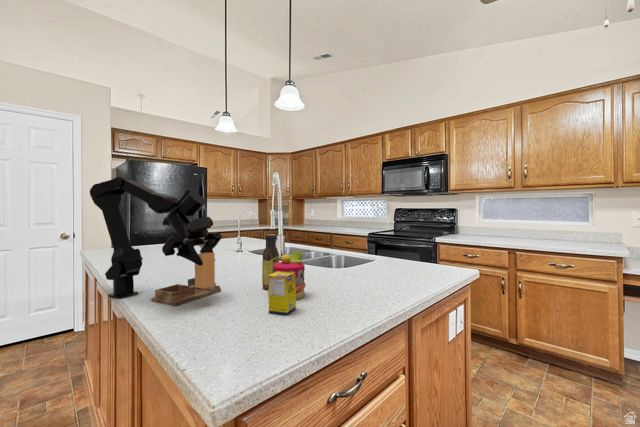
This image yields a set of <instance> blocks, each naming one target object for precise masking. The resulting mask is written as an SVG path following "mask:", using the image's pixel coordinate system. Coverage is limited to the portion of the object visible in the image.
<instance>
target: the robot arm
mask: <svg viewBox="0 0 640 427" xmlns="http://www.w3.org/2000/svg"><path fill="white" fill-rule="evenodd" d="M126 193H127V194H129V195H131V196H133V197H135V198H137V199H139V200H141V201H142V202H144V203H146V204H147V206H148V208H149V209H151V210H152V211H154V213H156V214H159V215H163V214H168V215H167V216H165V217H164V218H163V221H162V223H161V224H162V225H163V226H170V227H171V228H172V230H173V231H174V234H173V236H169V237H168V239H167V240H166V242H165V243H164V244H163V246H162V248H161V251H162V253H163V254H164V256H165V257H168V256H174V255H175V253H176V257H181V258H183V259H186V260H188V261H190V262H192V263H193V264H195V263H196V264H198V265H199V266H202V264H203V262H202V260H201V258H200V257H199V255H198V254H199V253H205V252H208V253H214V249H215V248H216V246H217V245H218V244H219V242H220V241H221V239H223V236H222V235H221V233H220V232H218V231H215V232H208V233H207V235H206V236H205V237H202V236H204V234H205V231H206V230H207V229H211V227H212V226H214V221H213V219H212V218H211V217H210V216H205V217H196V218H194V219H193V220H191V219H190V218H189V217H194V216H196V214H198V212H199V211H200V210H201V209H202V208H203V207H204V205H205V204H206V202H207V201H206V199H205V198H204V197H203V196H201V194H199V193H196V192H195V191H194V190H193V189H187V190H186V191H185V193H184V194H183V195H182V197H181V198H180V199H178V198H177V197H176V196H174V195H169V194H166V193H161V192H157V191H154V190H152V189H151V188H149V187H147V186H146V185H145V186H144V185H143V184H141V183H139V182H137V181H135V180H133V179H132V178H131V177H126V176H116V177H114V178H112V179H110V180H105V181H101V182H99V183H95V184H93V185H92V186H91V187H90V189H89V194H90V198H91V200H92V202H93V205H95V206H96V207H98V208H99V210H101V212H102V215H103V218H104V222H105V226H106V229H107V232H108V236H109V238H110V241H111V244H112V248H113V253H112V255H111V259H110V260H111V265H110V267H108V269H107V271H106V272H105V273H104V275H105V278H106V280H107V281H112V293H109V294H108V297H111V298H115V299H122V298H127V297H130V296H134V295H137V294H139V292H138V291H135V290H134V289H135V288H134V277H135V276H139V274H140V272H141V268H142V266H143V260H144V259H143V257H142V254H141V250H140V249H139V248H134V247H133V246H132V245H131V242H130V238H129V236H128V233H127V230H126V226H125V223H124V220H123V216H122V212H121V209H120V205H121V202H122V196H123V195H125V194H126ZM197 246H198V247H199V248H200V250H199V253H198V252H197V250H196V248H195V247H197ZM175 249H177V252H176V250H175Z"/></svg>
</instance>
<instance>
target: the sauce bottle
mask: <svg viewBox="0 0 640 427" xmlns="http://www.w3.org/2000/svg"><path fill="white" fill-rule="evenodd" d="M264 235H265V248H264V250H263V252H262V260H261V262H262V264H261V267H262V268H261V270H262V271H261V272H262V274H261V276H262V278H261V283H262V289H263V290H268V275H270V274H272V273H274V265H275V264H276V263H279V262H280V253H279V252H278V251H279V250H278V248H277V234H274V233H273V234H264Z"/></svg>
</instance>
